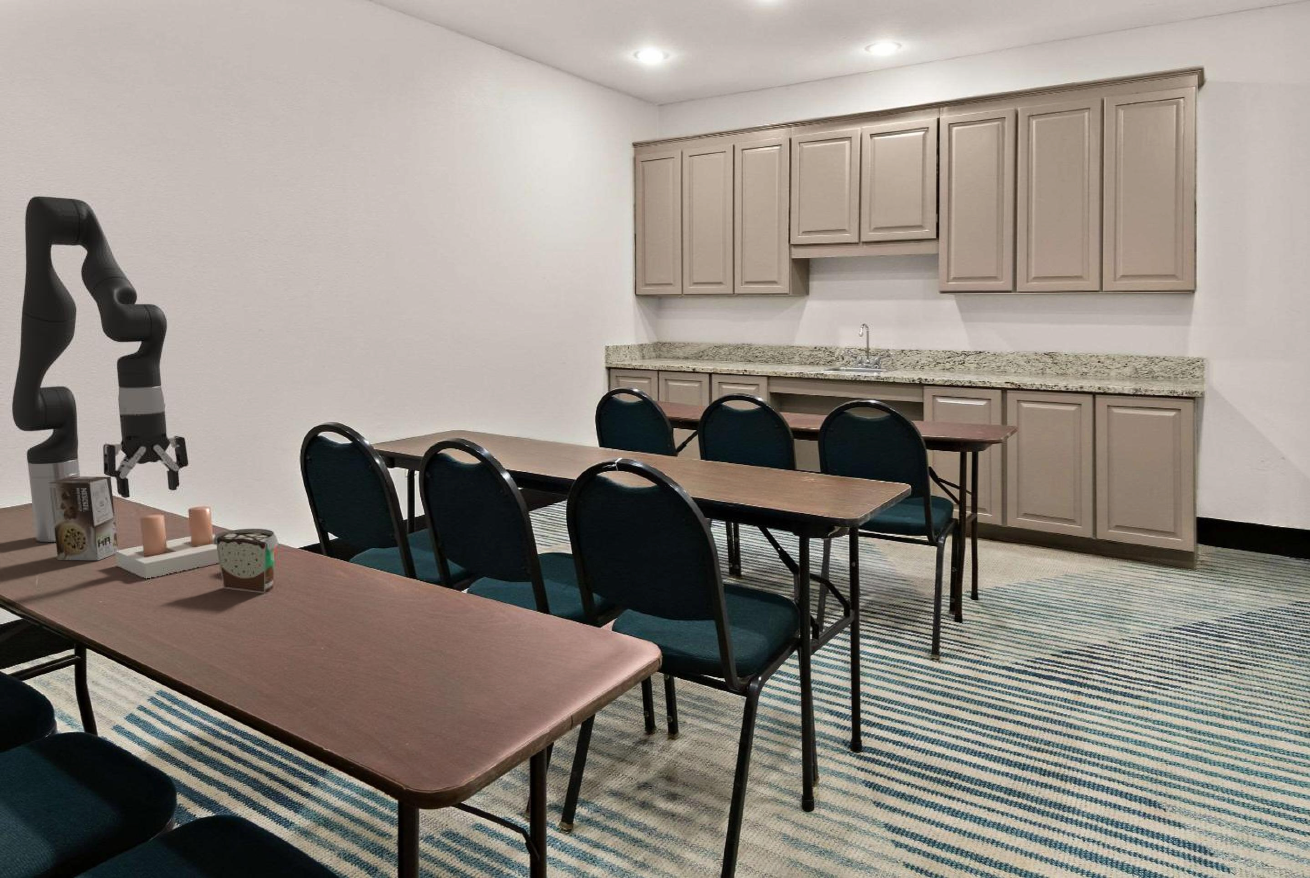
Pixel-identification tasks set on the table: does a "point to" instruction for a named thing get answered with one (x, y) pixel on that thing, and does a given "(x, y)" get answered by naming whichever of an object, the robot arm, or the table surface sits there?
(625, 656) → the table surface
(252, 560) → the food container
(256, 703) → the table surface
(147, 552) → the pin
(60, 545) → the coffee box
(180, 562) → the pin board
